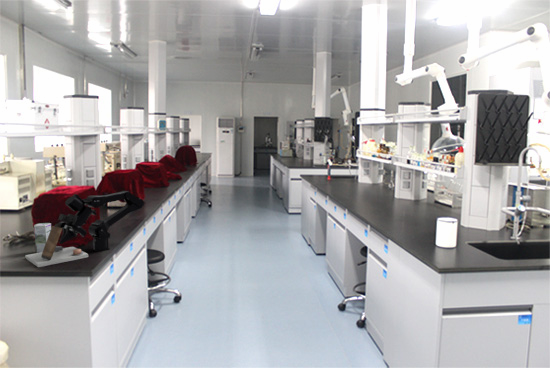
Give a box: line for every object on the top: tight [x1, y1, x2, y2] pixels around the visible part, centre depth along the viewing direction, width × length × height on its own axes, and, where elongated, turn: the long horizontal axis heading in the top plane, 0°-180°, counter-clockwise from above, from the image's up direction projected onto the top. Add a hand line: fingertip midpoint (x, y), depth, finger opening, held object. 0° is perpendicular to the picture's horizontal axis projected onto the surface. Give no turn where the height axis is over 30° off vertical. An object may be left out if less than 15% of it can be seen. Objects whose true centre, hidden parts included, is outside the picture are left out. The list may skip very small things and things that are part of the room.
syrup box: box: [33, 222, 52, 253], centre depth 208 cm, size 6×6×14 cm
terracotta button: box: [73, 248, 82, 255], centre depth 198 cm, size 4×4×2 cm
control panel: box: [24, 246, 89, 268], centre depth 198 cm, size 22×20×2 cm
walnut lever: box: [41, 223, 63, 260], centre depth 192 cm, size 3×6×17 cm, turn 53°
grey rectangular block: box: [54, 245, 64, 251], centre depth 204 cm, size 4×3×2 cm
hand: (60, 243), depth 195 cm, fingers closed
